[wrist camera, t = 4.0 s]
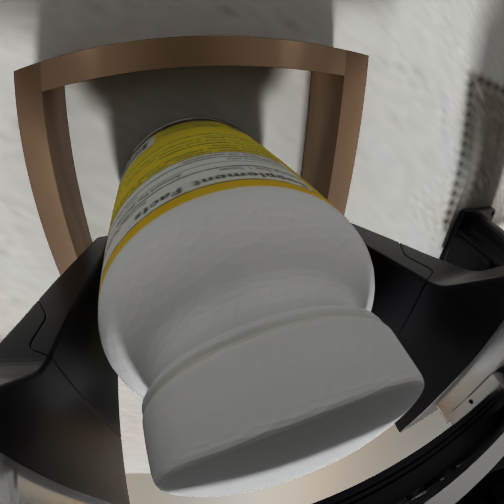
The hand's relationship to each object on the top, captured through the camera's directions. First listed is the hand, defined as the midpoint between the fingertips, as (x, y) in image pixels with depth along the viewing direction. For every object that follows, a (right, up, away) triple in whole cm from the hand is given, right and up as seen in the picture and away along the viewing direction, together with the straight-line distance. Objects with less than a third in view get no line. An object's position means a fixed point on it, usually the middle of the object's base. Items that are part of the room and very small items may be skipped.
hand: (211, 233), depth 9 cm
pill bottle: (-1, +2, +3) cm, 4 cm away
